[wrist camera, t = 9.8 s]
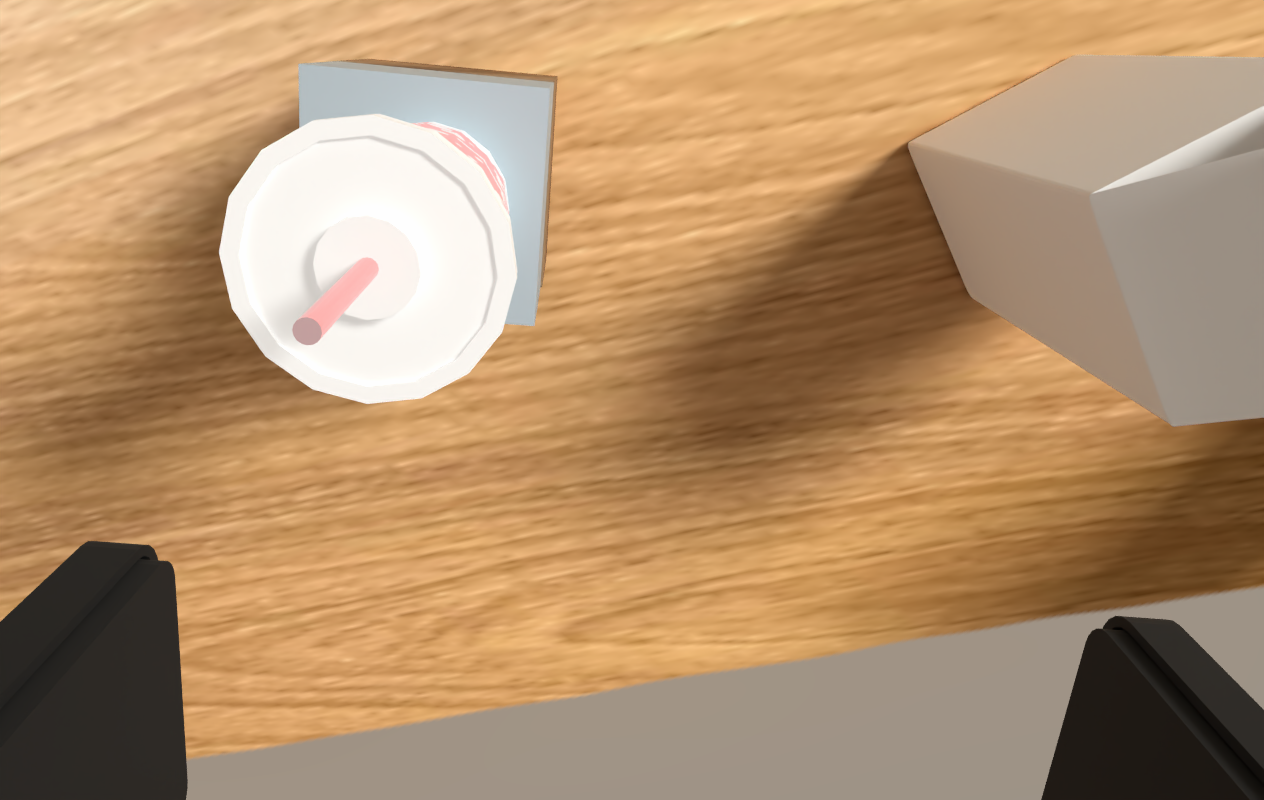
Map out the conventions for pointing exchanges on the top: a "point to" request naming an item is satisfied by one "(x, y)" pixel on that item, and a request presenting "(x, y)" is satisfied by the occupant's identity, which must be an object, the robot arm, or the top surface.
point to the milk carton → (1119, 222)
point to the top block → (477, 104)
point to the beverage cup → (371, 255)
